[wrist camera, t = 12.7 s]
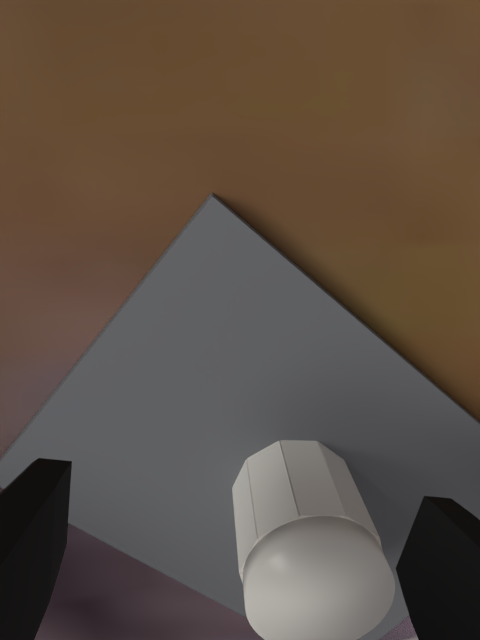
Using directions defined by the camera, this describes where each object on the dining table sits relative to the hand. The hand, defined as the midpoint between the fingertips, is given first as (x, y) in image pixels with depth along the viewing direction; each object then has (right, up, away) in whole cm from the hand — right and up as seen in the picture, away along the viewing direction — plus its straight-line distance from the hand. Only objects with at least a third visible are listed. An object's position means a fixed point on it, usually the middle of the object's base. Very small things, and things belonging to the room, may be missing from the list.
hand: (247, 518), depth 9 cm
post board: (+2, -2, +11) cm, 12 cm away
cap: (+2, -3, +10) cm, 10 cm away
